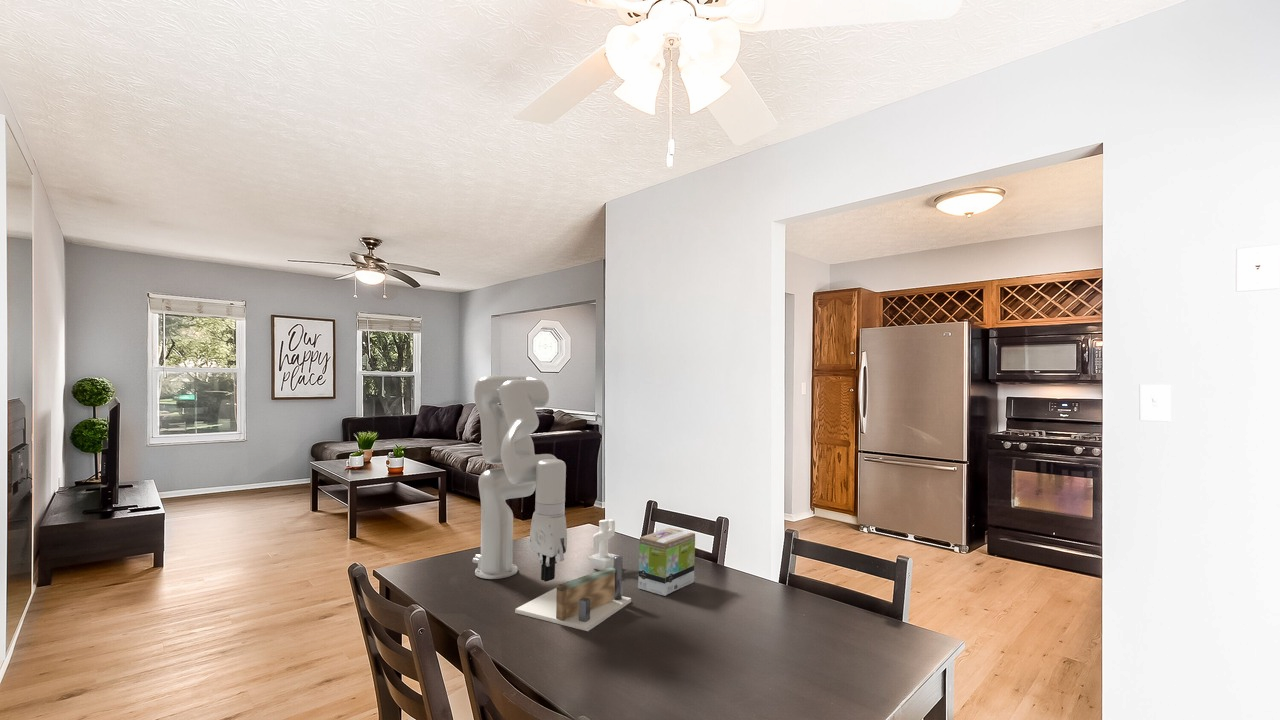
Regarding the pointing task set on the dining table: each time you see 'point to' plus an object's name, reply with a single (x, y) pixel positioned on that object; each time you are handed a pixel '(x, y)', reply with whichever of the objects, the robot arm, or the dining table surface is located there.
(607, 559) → the figurine
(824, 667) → the dining table surface
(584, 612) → the hinge post
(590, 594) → the gate
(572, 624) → the board
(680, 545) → the tea box
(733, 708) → the dining table surface
